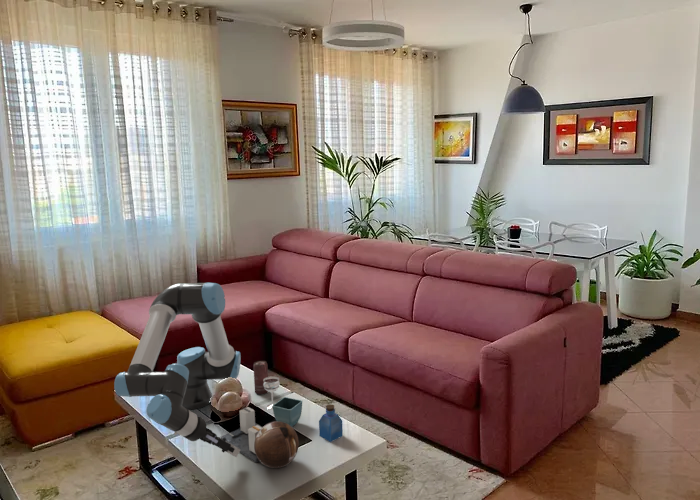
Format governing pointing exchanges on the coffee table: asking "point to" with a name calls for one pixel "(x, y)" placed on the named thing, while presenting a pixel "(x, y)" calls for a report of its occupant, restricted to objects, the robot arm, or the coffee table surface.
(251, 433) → the front fader
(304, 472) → the coffee table surface
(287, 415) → the flower pot
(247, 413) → the block
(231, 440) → the plate
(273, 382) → the wineglass
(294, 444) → the wooden sphere
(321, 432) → the perfume bottle
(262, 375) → the can
